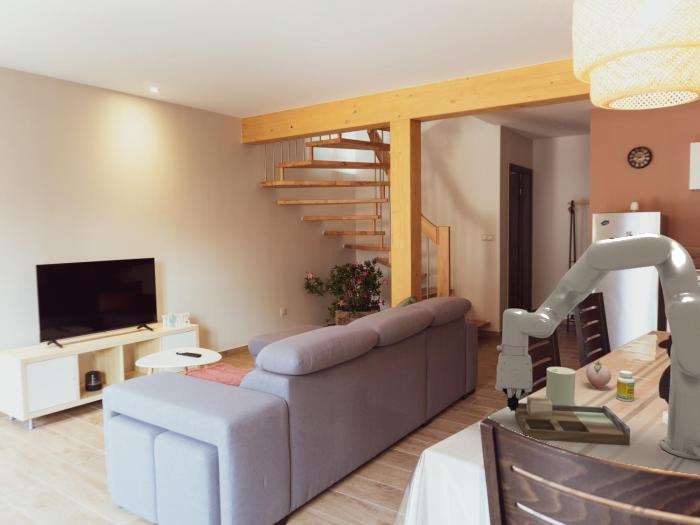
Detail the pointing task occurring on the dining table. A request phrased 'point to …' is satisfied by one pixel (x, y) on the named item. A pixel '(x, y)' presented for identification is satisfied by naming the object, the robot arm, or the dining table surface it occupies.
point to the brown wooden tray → (575, 425)
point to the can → (560, 385)
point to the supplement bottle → (625, 386)
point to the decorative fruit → (598, 375)
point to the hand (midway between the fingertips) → (512, 409)
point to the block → (539, 407)
